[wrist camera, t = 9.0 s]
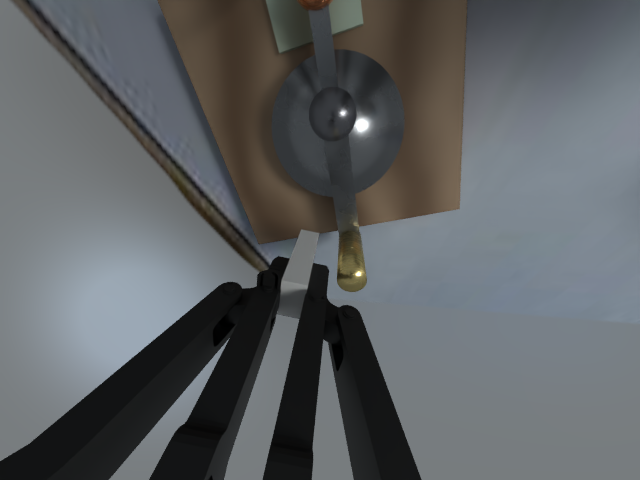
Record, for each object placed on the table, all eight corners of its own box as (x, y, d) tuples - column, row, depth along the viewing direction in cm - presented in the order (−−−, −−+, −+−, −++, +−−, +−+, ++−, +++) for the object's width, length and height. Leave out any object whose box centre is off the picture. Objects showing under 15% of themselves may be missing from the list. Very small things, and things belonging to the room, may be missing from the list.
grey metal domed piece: (239, -13, 15) (146, -128, 8) (398, -66, 13) (457, -269, 6) (302, 244, 24) (285, 296, 17) (402, 232, 22) (429, 286, 15)
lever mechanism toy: (460, -120, 13) (575, -357, 7) (452, 203, 22) (498, 240, 15) (171, 6, 17) (61, -63, 10) (263, 237, 26) (235, 278, 19)
